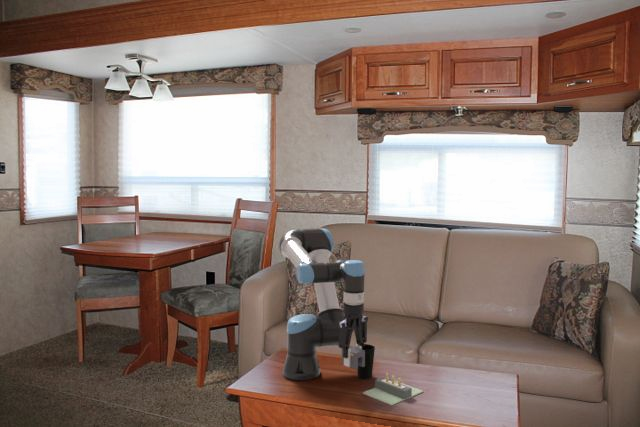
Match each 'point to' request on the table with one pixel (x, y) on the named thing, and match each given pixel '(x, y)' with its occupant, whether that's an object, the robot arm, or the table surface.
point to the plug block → (356, 357)
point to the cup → (367, 362)
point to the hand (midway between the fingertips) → (352, 364)
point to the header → (391, 391)
